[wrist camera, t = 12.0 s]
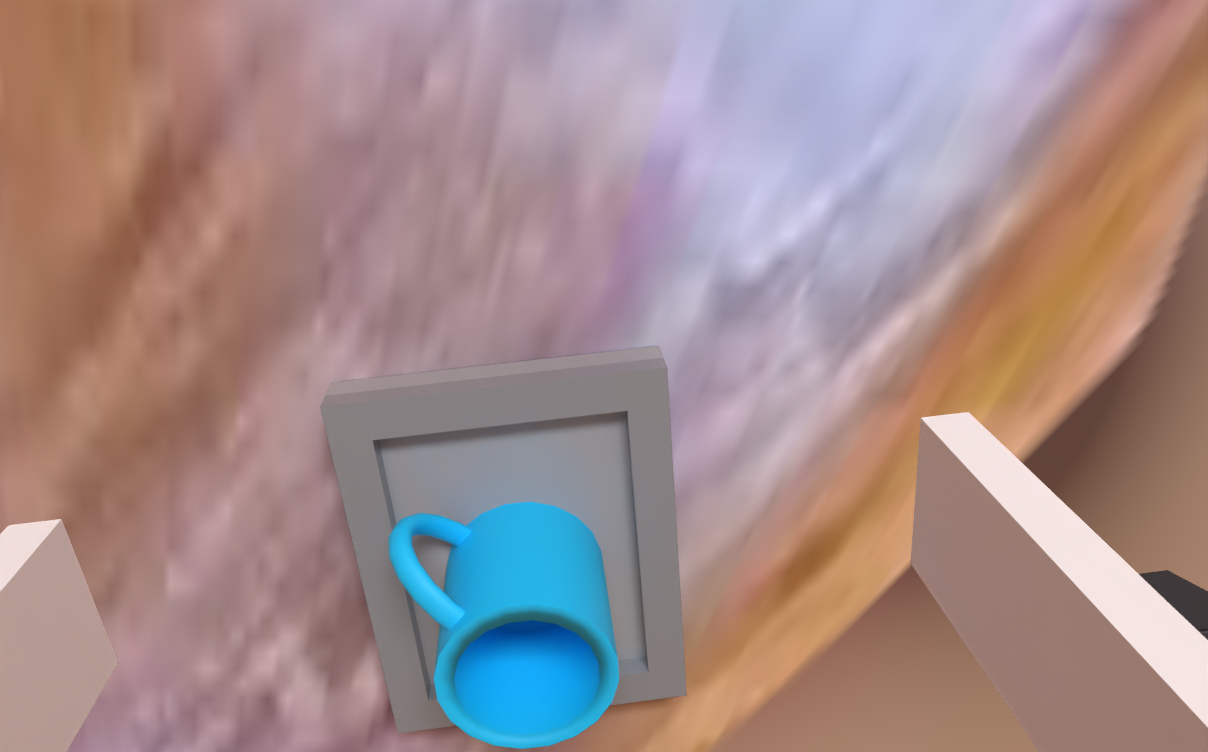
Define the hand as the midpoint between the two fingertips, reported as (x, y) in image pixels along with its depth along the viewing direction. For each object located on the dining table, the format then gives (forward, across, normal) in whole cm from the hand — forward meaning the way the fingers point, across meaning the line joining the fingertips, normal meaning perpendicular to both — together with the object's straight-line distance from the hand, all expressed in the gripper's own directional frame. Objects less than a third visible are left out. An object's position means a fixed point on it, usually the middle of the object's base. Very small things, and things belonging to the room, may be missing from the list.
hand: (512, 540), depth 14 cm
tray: (+29, -2, -19) cm, 34 cm away
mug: (+27, -3, -19) cm, 33 cm away
